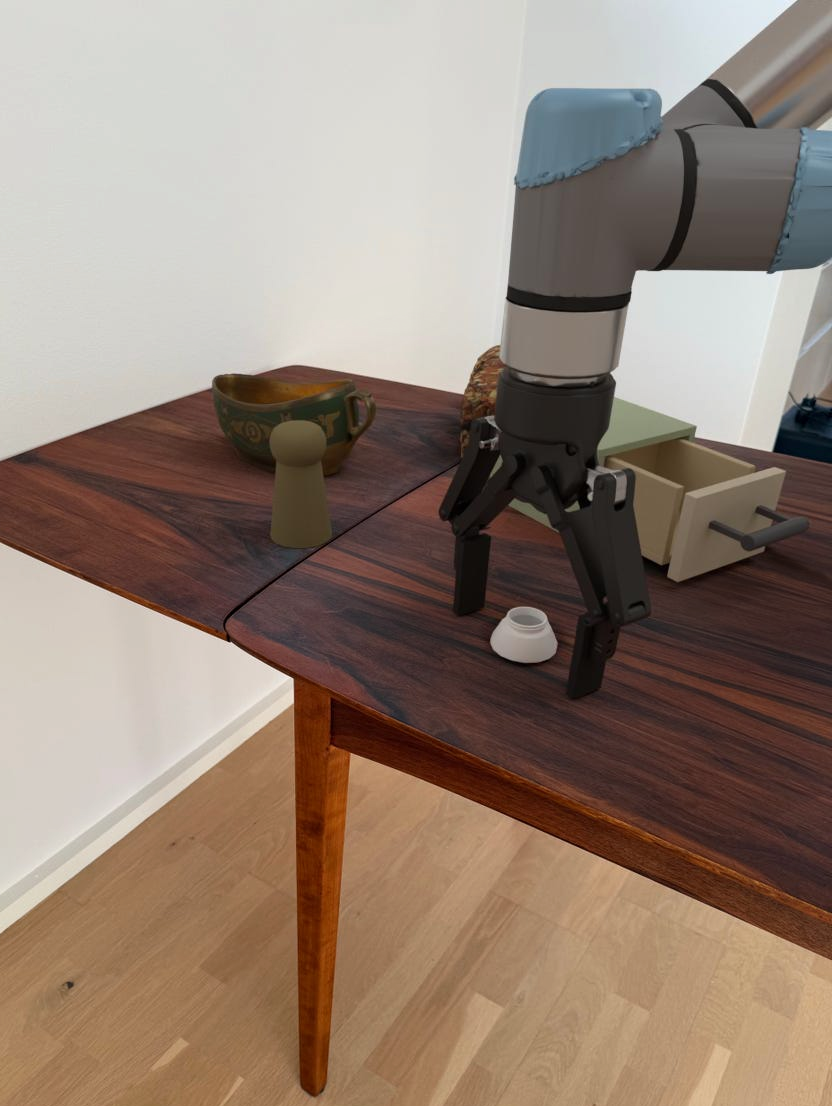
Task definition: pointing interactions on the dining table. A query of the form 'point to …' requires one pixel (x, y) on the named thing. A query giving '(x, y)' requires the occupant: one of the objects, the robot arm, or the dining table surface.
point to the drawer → (702, 506)
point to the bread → (480, 392)
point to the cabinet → (622, 441)
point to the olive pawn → (299, 486)
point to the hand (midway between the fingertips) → (521, 647)
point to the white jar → (524, 636)
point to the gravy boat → (289, 415)
